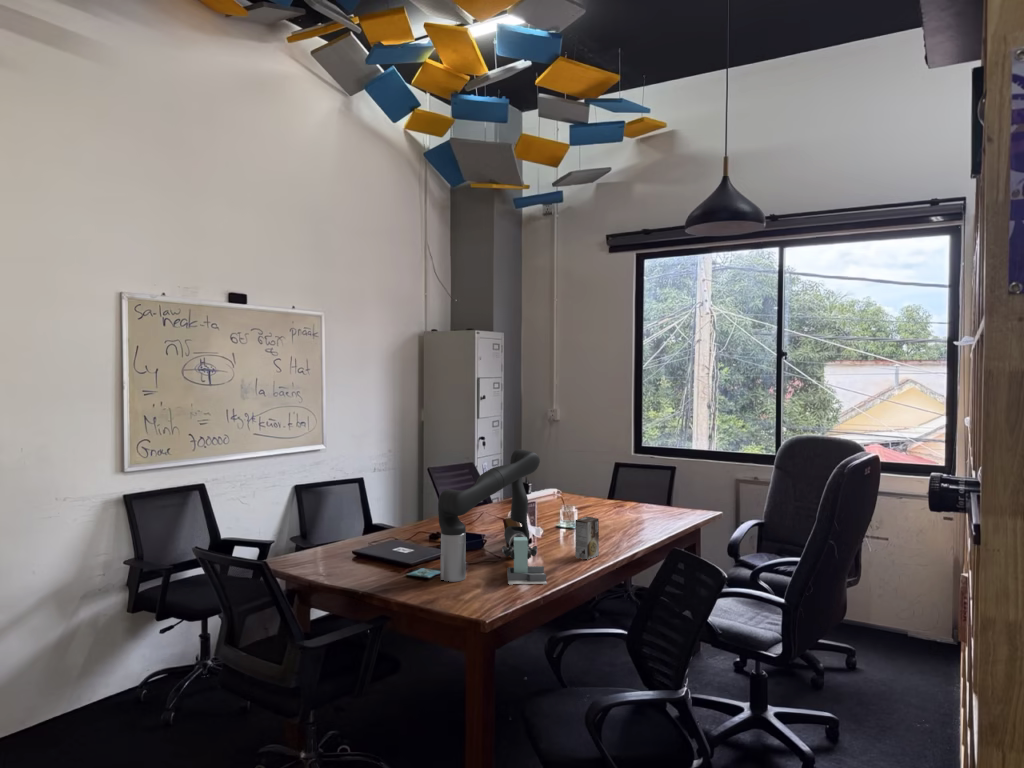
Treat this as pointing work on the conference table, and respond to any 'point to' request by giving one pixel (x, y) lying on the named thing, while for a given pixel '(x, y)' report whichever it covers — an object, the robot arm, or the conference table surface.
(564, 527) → the conference table surface
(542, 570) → the keyhole guide
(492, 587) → the conference table surface
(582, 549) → the coffee box
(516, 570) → the teal post
